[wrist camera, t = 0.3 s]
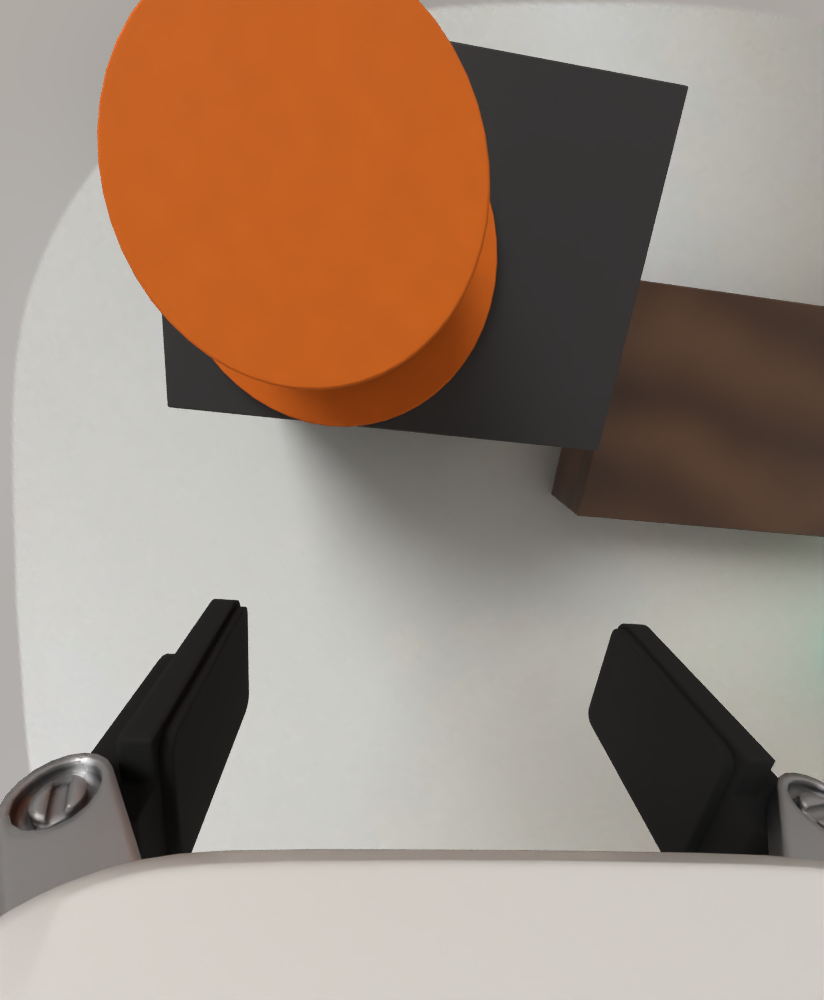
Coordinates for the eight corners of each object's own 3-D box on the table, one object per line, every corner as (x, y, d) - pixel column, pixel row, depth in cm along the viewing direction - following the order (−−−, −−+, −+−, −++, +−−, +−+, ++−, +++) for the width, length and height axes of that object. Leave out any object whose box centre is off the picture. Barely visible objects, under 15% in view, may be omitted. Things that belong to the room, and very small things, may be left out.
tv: (268, 171, 22) (139, -36, 10) (539, 213, 23) (693, 71, 11) (266, 383, 25) (166, 407, 13) (504, 409, 26) (598, 451, 15)
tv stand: (596, 291, 24) (635, 279, 20) (911, 334, 26) (1001, 331, 22) (551, 494, 28) (577, 516, 24) (830, 519, 30) (895, 543, 26)
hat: (165, 39, 11) (-89, -329, 5) (519, 101, 11) (654, -150, 6) (183, 408, 13) (35, 447, 8) (468, 437, 14) (524, 492, 9)
